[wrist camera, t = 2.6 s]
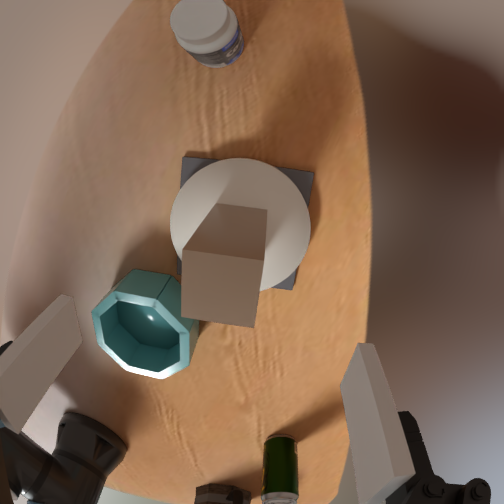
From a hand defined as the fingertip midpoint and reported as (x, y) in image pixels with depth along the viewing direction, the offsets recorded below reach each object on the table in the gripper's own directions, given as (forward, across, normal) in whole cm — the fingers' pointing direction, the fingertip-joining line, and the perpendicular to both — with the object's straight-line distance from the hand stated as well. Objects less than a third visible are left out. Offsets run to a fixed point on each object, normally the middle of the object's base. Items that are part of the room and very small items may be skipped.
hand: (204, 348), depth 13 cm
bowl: (+18, -9, -12) cm, 24 cm away
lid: (+18, 0, 0) cm, 18 cm away
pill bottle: (+18, -4, +17) cm, 25 cm away
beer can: (+18, +10, -35) cm, 41 cm away
